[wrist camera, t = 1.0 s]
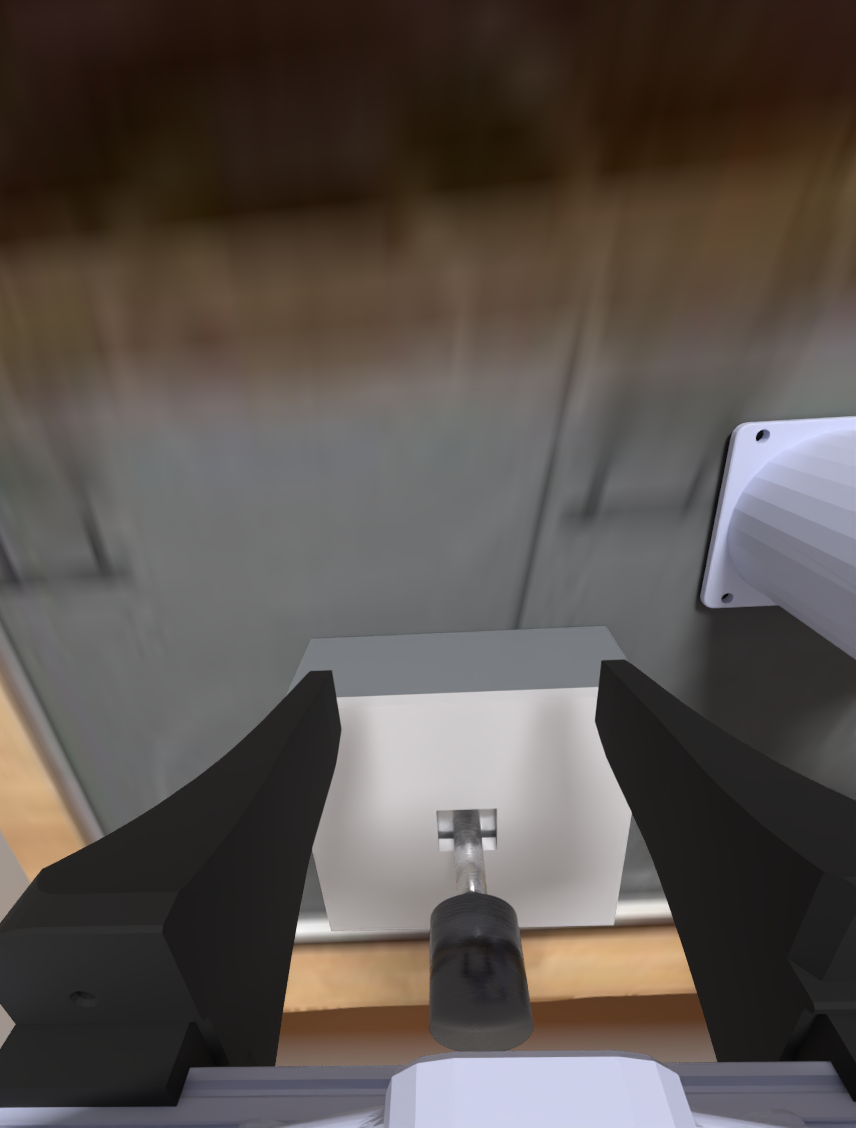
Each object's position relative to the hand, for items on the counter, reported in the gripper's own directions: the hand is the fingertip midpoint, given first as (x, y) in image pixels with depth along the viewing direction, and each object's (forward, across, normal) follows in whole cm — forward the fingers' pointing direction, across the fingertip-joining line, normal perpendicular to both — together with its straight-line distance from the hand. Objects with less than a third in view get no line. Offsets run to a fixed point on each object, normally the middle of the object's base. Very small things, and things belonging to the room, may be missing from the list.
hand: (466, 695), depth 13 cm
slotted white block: (+9, 0, +11) cm, 14 cm away
